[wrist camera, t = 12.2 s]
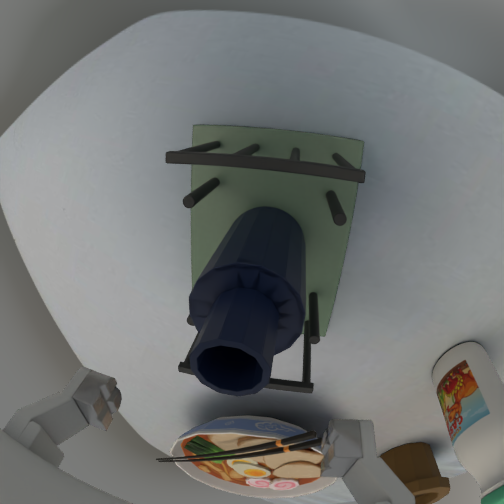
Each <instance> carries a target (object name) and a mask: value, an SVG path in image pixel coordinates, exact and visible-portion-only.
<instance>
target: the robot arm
mask: <svg viewBox="0 0 504 504" xmlns="http://www.w3.org/2000/svg"><path fill="white" fill-rule="evenodd" d="M116 385H117V382H116V380H115V378H113V377H110V376H107V375H104V374H101V373H99V372H96V371H94V370H91V369H88V368H86V367H81V368H80V369H78V371H77V372H76V374H75V375H74V376H73V378H72V379H71V380H70V382H69V383H68V384H67V386H66V387H65V388H64V390H63V391H62V393H60V392H58V393H55V394H53V395H51V396H48V397H46V398H44V399H42V400H40V401H37V402H35V403H32V404H30V405H28V406H25V407H23V408H21V409H18V410H17V411H16V413H15V414H14V415H13V417H12V418H11V419H10V421H9V422H8V424H7V425H6V426H5V428H4V429H3V430H1V429H0V504H133V503H130V502H128V501H126V500H123V499H120V498H118V497H115V496H113V495H111V494H109V493H107V492H104V491H102V490H100V489H98V488H96V487H93V486H91V485H89V484H87V483H85V482H83V481H81V480H79V479H77V478H75V477H74V476H72V475H70V474H68V473H66V472H64V471H63V470H61V469H59V468H58V467H59V465H60V463H61V461H62V460H63V457H64V453H63V452H62V451H61V450H60V449H59V448H58V447H57V445H59V444H60V443H62V442H64V441H65V440H67V439H69V438H70V437H72V436H73V435H75V434H77V433H78V432H80V431H81V430H83V429H84V428H86V427H87V426H89V425H92V426H94V427H97V428H99V429H102V430H105V431H107V429H108V427H109V425H110V423H111V422H112V420H113V418H112V414H113V413H114V412H116V411H118V409H119V407H120V404H121V400H122V397H121V392H120V390H119V389H118V388H117V387H116ZM321 453H322V454H323V455H324V457H323V459H322V461H321V470H320V477H343V478H342V479H343V481H344V483H345V484H346V486H347V487H348V489H349V490H350V492H351V494H352V495H353V497H354V498H355V500H356V502H357V503H358V504H415V496H414V495H413V494H412V493H411V492H410V491H409V490H408V488H407V487H406V486H405V485H404V484H403V483H402V482H401V480H400V479H399V478H398V477H397V476H396V475H395V474H394V472H393V471H392V470H391V469H390V468H389V467H388V465H387V464H386V463H385V462H384V461H383V460H382V458H381V457H377V452H376V442H375V434H374V426H373V422H372V420H353V419H331V420H330V422H329V424H328V429H326V430H325V432H324V434H323V438H322V444H321Z"/></svg>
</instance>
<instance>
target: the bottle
mask: <svg viewBox="0 0 504 504" xmlns="http://www.w3.org/2000/svg"><path fill="white" fill-rule="evenodd" d="M189 310H190V317H191V319H192V321H193V323H194V325H195V327H196V329H197V331H198V333H199V335H198V338H197V340H196V342H195V344H194V346H193V348H192V351H191V353H190V355H189V356H190V367H191V371H192V372H193V373H194V374H195V376H196V377H197V378H198V379H199V381H200V382H201V383H202V384H204V385H206V386H207V387H209V388H211V389H213V390H215V391H216V392H219V393H223V394H228V395H234V396H244V395H249V394H255V393H257V392H259V391H260V390H261V389H263V388H264V387H265V386H267V385H268V384H269V381H270V375H271V369H272V363H273V356H274V355H276V354H278V353H280V352H282V351H284V350H286V349H288V348H290V347H291V346H292V344H293V343H294V342H295V341H296V340H297V338H298V337H299V336H300V335H301V333H302V331H303V326H304V321H305V317H306V244H305V239H304V234H303V231H302V229H301V227H300V225H299V224H298V222H297V221H296V220H295V219H294V218H293V217H292V216H291V215H290V214H288V213H287V212H285V211H283V210H281V209H278V208H274V207H267V206H263V207H256V208H253V209H250V210H248V211H246V212H244V213H243V214H241V215H240V216H239V217H238V218H237V219H236V220H235V221H234V223H233V224H232V226H231V227H230V229H229V230H228V232H227V233H226V235H225V237H224V238H223V240H222V241H221V243H220V244H219V246H218V247H217V249H216V251H215V252H214V254H213V255H212V257H211V258H210V260H209V262H208V263H207V265H206V266H205V268H204V270H203V271H202V273H201V274H200V276H199V278H198V279H197V281H196V283H195V285H194V287H193V289H192V291H191V294H190V296H189Z"/></svg>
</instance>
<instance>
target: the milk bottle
mask: <svg viewBox="0 0 504 504" xmlns="http://www.w3.org/2000/svg"><path fill="white" fill-rule="evenodd" d="M432 380H433V384H434V387H435V390H436V393H437V396H438V399H439V402H440V405H441V408H442V412H443V415H444V418H445V421H446V425H447V428H448V431H449V435H450V438H451V441H452V445H453V448H454V451H455V453H456V456H457V458H458V460H459V462H460V463H461V465H462V466H463V467H464V468H465V469H466V470H467V471H468V472H469V473H470V474H471V475H472V476H473V477H474V479H475V480H476V481H477V483H478V485H479V486H480V489H481V495H480V498H481V504H504V385H503V383H502V381H501V379H500V377H499V375H498V373H497V371H496V369H495V367H494V365H493V363H492V362H491V360H490V358H489V356H488V354H487V353H486V351H485V350H484V348H483V347H482V346H481V345H480V344H478V343H476V342H466V343H462V344H460V345H457V346H455V347H454V348H452V349H450V350H449V351H448V352H446V353H445V354H444V355H443V356H442V357H441V358H440V359H439V360H438V362H437V363H436V365H435V367H434V369H433V374H432Z"/></svg>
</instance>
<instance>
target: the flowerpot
mask: <svg viewBox="0 0 504 504" xmlns="http://www.w3.org/2000/svg"><path fill="white" fill-rule="evenodd" d="M380 457H381V458H382V460H383V461H384V462H385V463H386V464H387V465H388V467H389V468H390V469H391V470H392V471H393V472H394V474H395V475H396V476H397V477H398V478H399V479H400V480H401V482H402V483H403V484H404V485H405V486H406V487H407V488H408V490H409V491H410V492H411V493H412V494H413V495H414V496H415V504H432V503H435V502H437V501H439V500H440V499H441V498H443V497H444V496H446V495H447V494H448V493H449V491H450V484H449V478H446V477H441V474H440V472H439V469H438V466H437V463H436V461H435V458H434V455H433V453H432V450H431V448H430V445H429V444H426V443H423V442H419V443H409V444H405V445H402V446H399V447H396V448H393V449H391V450H389V451H387V452H386V453H384V454H382V455H381V456H380Z"/></svg>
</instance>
